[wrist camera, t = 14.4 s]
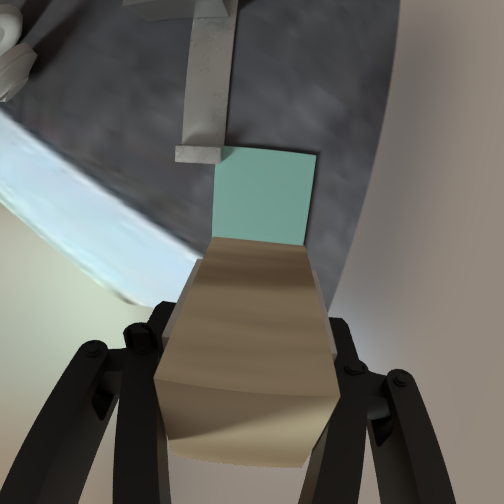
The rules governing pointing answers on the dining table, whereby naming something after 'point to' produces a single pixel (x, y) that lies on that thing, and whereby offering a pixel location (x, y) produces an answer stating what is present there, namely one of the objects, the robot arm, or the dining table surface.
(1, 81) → the headphones
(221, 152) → the rail
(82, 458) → the robot arm
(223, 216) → the pad
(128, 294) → the dining table surface
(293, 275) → the beech block
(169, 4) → the grey l-shaped block
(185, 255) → the dining table surface
